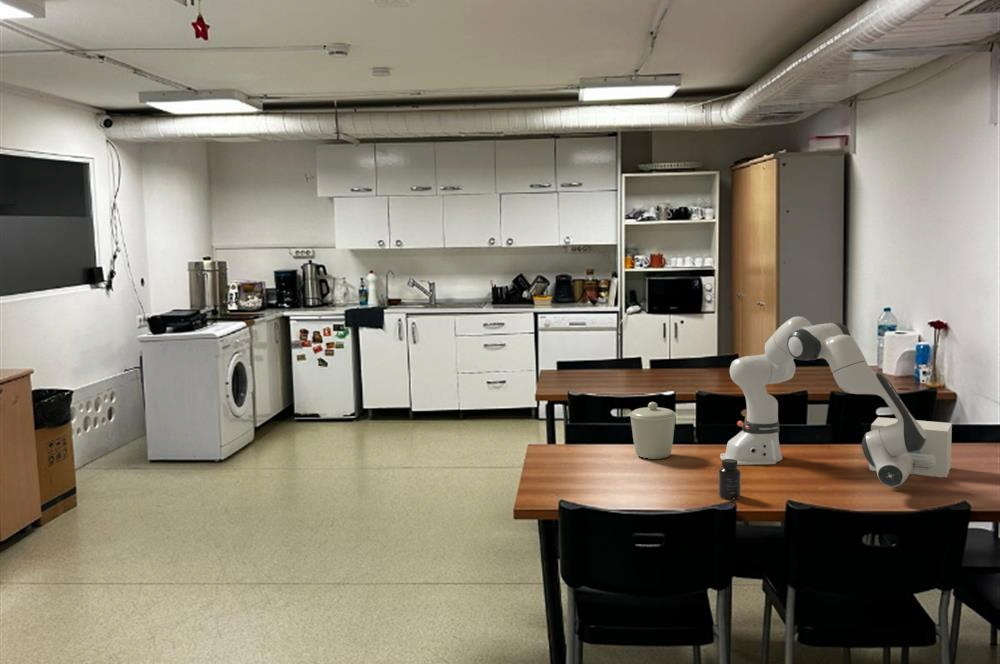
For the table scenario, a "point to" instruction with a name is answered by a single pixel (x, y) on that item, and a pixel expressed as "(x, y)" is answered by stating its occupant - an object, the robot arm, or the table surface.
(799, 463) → the table surface
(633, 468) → the table surface
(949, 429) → the knob mount
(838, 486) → the table surface
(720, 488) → the supplement bottle
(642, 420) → the canister
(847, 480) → the table surface
